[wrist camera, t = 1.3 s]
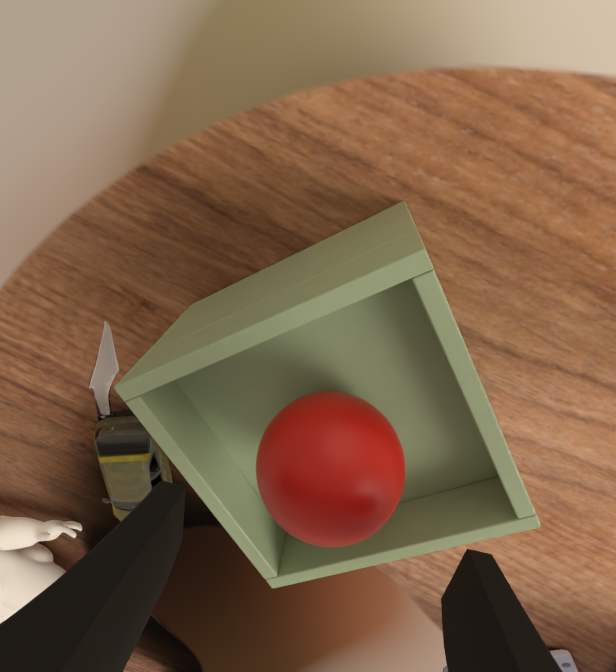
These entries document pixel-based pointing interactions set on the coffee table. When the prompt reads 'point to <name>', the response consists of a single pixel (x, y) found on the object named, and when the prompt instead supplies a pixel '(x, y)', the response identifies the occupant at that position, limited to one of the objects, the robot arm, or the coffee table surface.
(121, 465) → the race car
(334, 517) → the ball
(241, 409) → the open box
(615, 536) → the coffee table surface
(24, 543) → the toy creature
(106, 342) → the knife
